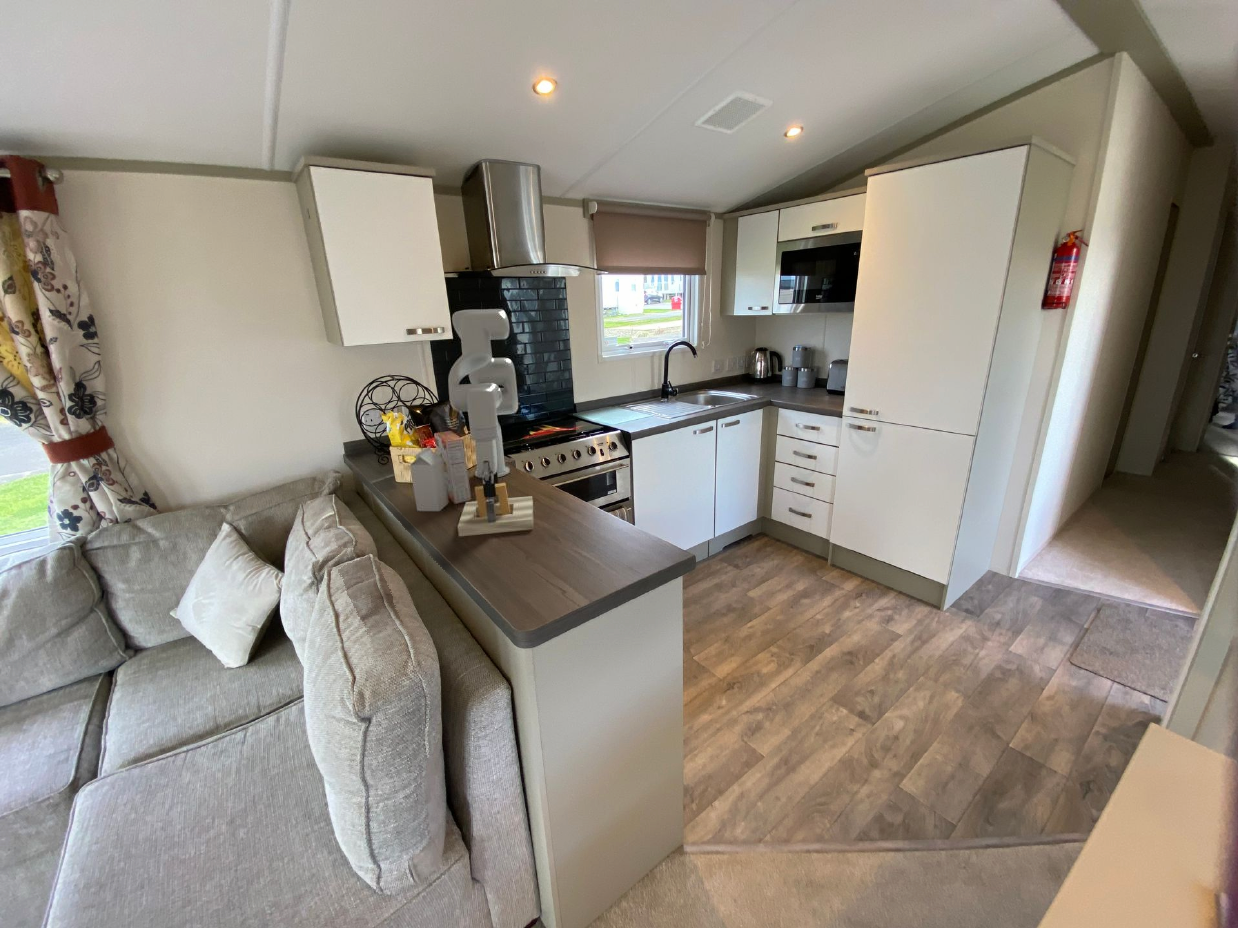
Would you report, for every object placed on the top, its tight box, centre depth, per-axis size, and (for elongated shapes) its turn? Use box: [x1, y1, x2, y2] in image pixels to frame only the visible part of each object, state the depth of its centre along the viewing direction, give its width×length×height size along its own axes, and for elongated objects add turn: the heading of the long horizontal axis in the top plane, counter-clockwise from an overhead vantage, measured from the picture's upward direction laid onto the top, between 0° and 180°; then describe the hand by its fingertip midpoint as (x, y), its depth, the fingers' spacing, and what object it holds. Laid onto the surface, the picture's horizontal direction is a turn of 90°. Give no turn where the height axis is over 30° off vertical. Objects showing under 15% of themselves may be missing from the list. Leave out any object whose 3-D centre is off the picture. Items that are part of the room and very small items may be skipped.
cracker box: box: [433, 430, 473, 505], centre depth 161 cm, size 14×6×21 cm, turn 33°
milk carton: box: [409, 445, 450, 512], centre depth 152 cm, size 7×7×19 cm
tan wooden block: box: [474, 482, 511, 517], centre depth 142 cm, size 2×8×9 cm, turn 101°
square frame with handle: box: [457, 495, 534, 537], centre depth 143 cm, size 18×20×8 cm
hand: (491, 490), depth 141 cm, fingers open, 9 cm apart
